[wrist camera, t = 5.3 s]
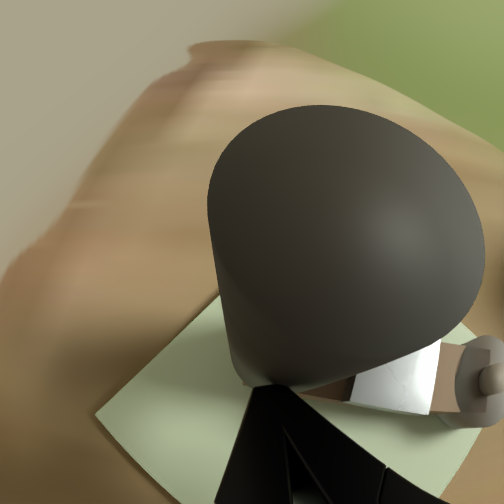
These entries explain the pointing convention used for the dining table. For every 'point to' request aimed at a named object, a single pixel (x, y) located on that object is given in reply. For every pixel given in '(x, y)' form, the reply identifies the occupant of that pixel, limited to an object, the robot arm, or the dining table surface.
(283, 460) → the robot arm
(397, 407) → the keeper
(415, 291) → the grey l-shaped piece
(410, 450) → the plate
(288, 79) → the dining table surface
